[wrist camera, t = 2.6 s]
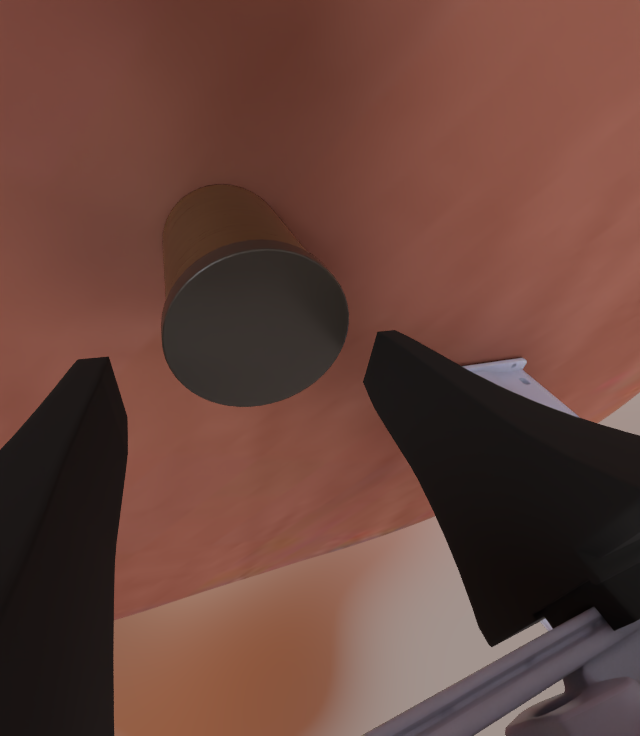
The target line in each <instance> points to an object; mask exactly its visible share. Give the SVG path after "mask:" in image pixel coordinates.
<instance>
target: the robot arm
mask: <svg viewBox="0 0 640 736" xmlns="http://www.w3.org/2000/svg"><path fill="white" fill-rule="evenodd" d="M526 363H527V361H526V360H525V359H524V358H517V359H510V360H503V361H496V362H489V363H482V364H475V365H468V366H460V365H458V364H456V363H455V362H453V361H451V360H449V359H447V358H446V357H444V356H442V355H440V354H439V353H437V352H435V351H433V350H432V349H430V348H428V347H426V346H424V345H423V344H421V343H419V342H417V341H415V340H414V339H412V338H410V337H408V336H406V335H404V334H402V333H400V332H397V331H395V330H392V331H381V332H377V336H376V339H375V343H374V346H373V349H372V353H371V356H370V360H369V363H368V367H367V370H366V374H365V377H364V381H363V383H364V385H365V388H366V390H367V392H368V395H369V397H370V399H371V401H372V404H373V406H374V408H375V410H376V412H377V413H378V415H379V417H380V418H381V420H382V421H383V423H384V425H385V426H386V428H387V430H388V431H389V433H390V434H391V436H392V438H393V439H394V441H395V442H396V444H397V445H398V447H399V449H400V450H401V452H402V453H403V455H404V457H405V458H406V460H407V461H408V463H409V465H410V466H411V468H412V470H413V471H414V473H415V475H416V477H417V478H418V480H419V482H420V484H421V486H422V489H423V491H424V493H425V495H426V497H427V499H428V501H429V503H430V505H431V507H432V509H433V511H434V513H435V516H436V518H437V520H438V522H439V525H440V527H441V529H442V531H443V533H444V536H445V538H446V540H447V543H448V545H449V548H450V550H451V552H452V555H453V558H454V560H455V562H456V565H457V567H458V570H459V572H460V575H461V578H462V580H463V583H464V586H465V589H466V592H467V594H468V597H469V600H470V603H471V605H472V608H473V611H474V614H475V617H476V620H477V623H478V626H479V628H480V630H481V631H482V634H483V635H484V637H485V639H486V641H487V642H488V644H489V645H490V646H491V647H493V646H495V645H497V644H498V643H500V642H502V641H504V640H506V639H508V638H510V637H512V636H513V635H515V634H517V633H519V632H521V631H523V630H524V629H527V628H528V627H530V626H532V625H534V624H536V623H538V622H541V623H542V624H543V625H544V627H545V628H546V629H547V630H548V632H547V633H545V634H543V635H541V636H540V637H538V638H536V639H534V640H532V641H530V642H528V643H527V644H525V645H523V646H521V647H519V648H518V649H516V650H514V651H512V652H511V653H509V654H507V655H505V656H503V657H502V658H500V659H498V660H496V661H495V662H493V663H491V664H489V665H487V666H485V667H484V668H482V669H480V670H478V671H476V672H475V673H473V674H471V675H469V676H468V677H466V678H464V679H462V680H460V681H459V682H457V683H455V684H453V685H451V686H450V687H448V688H446V689H444V690H442V691H441V692H439V693H437V694H435V695H434V696H432V697H430V698H428V699H426V700H424V701H423V702H421V703H419V704H417V705H415V706H414V707H412V708H410V709H408V710H406V711H405V712H403V713H401V714H399V715H397V716H396V717H394V718H392V719H390V720H389V721H387V722H385V723H383V724H382V725H380V726H378V727H376V728H374V729H372V730H371V731H369V732H367V733H365V734H363V735H362V736H474V735H475V734H477V733H478V732H480V731H481V730H483V729H485V728H486V727H488V726H489V725H491V724H492V723H494V722H495V721H497V720H499V719H500V718H502V717H503V716H505V715H506V714H508V713H509V712H511V711H513V710H514V709H516V708H517V707H519V706H521V705H522V704H524V703H525V702H527V701H528V700H530V699H531V698H533V697H535V696H536V695H538V694H539V693H541V692H542V691H544V690H546V689H547V688H549V687H550V686H552V685H553V684H555V683H556V682H558V681H560V680H561V679H563V681H564V685H565V692H564V693H562V694H559V695H557V696H554V697H552V698H549V699H547V700H544V701H542V702H539V703H537V704H535V705H533V706H531V707H529V708H528V709H526V710H524V711H523V712H522V713H521V714H519V715H518V716H517V717H516V718H515V719H514V720H513V721H512V722H511V723H510V724H509V725H508V726H507V727H506V731H505V735H506V736H640V436H639V435H635V434H631V433H628V432H624V431H621V430H617V429H614V428H611V427H607V426H604V425H600V424H597V423H594V422H591V421H588V420H585V419H582V418H579V417H578V416H577V415H576V414H575V413H574V412H573V411H572V410H570V409H569V408H568V407H567V406H566V405H564V404H563V403H562V402H561V401H560V400H558V399H557V398H556V397H555V396H554V395H552V394H551V393H550V392H549V391H548V390H546V389H545V388H544V387H543V386H541V385H540V384H539V383H538V382H537V381H535V380H534V379H533V378H532V377H531V376H529V375H528V374H527V373H526V372H525V371H523V370H522V369H523V368H524V366H525V365H526ZM127 455H128V427H127V414H126V411H125V408H124V405H123V401H122V398H121V395H120V392H119V388H118V385H117V382H116V379H115V376H114V372H113V369H112V366H111V363H110V359H109V357H100V358H89V359H79V360H77V361H76V362H75V363H74V364H73V366H72V367H71V368H70V369H69V370H68V372H67V373H66V374H65V375H64V377H63V378H62V379H61V380H60V382H59V383H58V384H57V385H56V387H55V388H54V389H53V390H52V392H51V393H50V394H49V395H48V396H47V398H46V399H45V400H44V401H43V402H42V404H41V405H40V406H39V407H38V408H37V409H36V411H35V412H34V413H33V414H32V415H31V416H30V418H29V419H28V420H27V421H26V422H25V423H24V424H23V426H22V427H21V428H20V429H19V430H18V431H17V432H16V434H15V435H14V436H13V437H12V438H11V439H10V440H9V441H8V442H7V443H6V444H5V445H4V446H3V447H2V448H1V450H0V736H114V701H113V700H114V691H113V690H114V689H113V627H114V624H113V623H114V572H115V554H116V542H117V534H118V527H119V519H120V511H121V504H122V496H123V488H124V480H125V472H126V464H127Z"/></svg>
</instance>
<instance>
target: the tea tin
mask: <svg viewBox="0 0 640 736" xmlns="http://www.w3.org/2000/svg"><path fill="white" fill-rule="evenodd" d="M162 242H163V260H164V278H165V295H166V301H165V304H164V308H163V312H162V321H161V334H162V347H163V352H164V355H165V359H166V361H167V363H168V365H169V368H170V369H171V371H172V372H173V374H174V375H175V377H176V378H177V379H178V380H179V381H180V382H181V383H182V384H183V385H184V386H185V387H186V388H188V389H189V390H190V391H191V392H193V393H195V394H196V395H198V396H200V397H202V398H204V399H206V400H209V401H211V402H215V403H218V404H222V405H228V406H237V407H251V406H261V405H266V404H271V403H274V402H278V401H281V400H284V399H286V398H289V397H291V396H293V395H295V394H297V393H299V392H301V391H302V390H304V389H306V388H307V387H309V386H310V385H311V384H313V383H314V382H315V381H317V380H318V379H319V378H320V377H321V376H322V375H323V374H324V373H325V372H326V371H327V370H328V369H329V368H330V367H331V365H332V364H333V362H334V361H335V360H336V358H337V356H338V355H339V353H340V351H341V349H342V347H343V344H344V342H345V339H346V335H347V331H348V324H349V312H348V305H347V301H346V297H345V294H344V292H343V290H342V288H341V286H340V284H339V283H338V281H337V280H336V279H335V277H334V276H333V275H332V274H331V272H330V271H329V270H328V269H327V268H326V267H325V266H324V265H323V264H322V263H321V261H320V260H318V259H317V258H316V257H314V256H313V255H312V254H311V253H309V252H307V251H306V250H305V249H304V248H303V246H302V245H301V244H300V243H299V242H298V240H297V239H296V238H295V237H294V235H293V234H292V233H291V232H290V231H289V229H288V228H287V227H286V226H285V224H284V223H283V222H282V221H281V219H280V218H279V217H278V216H277V215H276V213H275V212H274V211H273V210H272V208H271V207H270V206H269V205H268V204H267V203H266V202H265V201H264V200H263V199H261V198H260V197H259V196H257V195H256V194H254V193H252V192H251V191H248V190H246V189H244V188H241V187H237V186H233V185H210V186H206V187H202V188H199V189H197V190H195V191H193V192H191V193H189V194H188V195H186V196H185V197H183V198H182V199H181V200H180V201H179V202H178V203H177V204H176V205H175V207H174V208H173V209H172V211H171V212H170V214H169V216H168V218H167V221H166V223H165V226H164V231H163V241H162Z"/></svg>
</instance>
